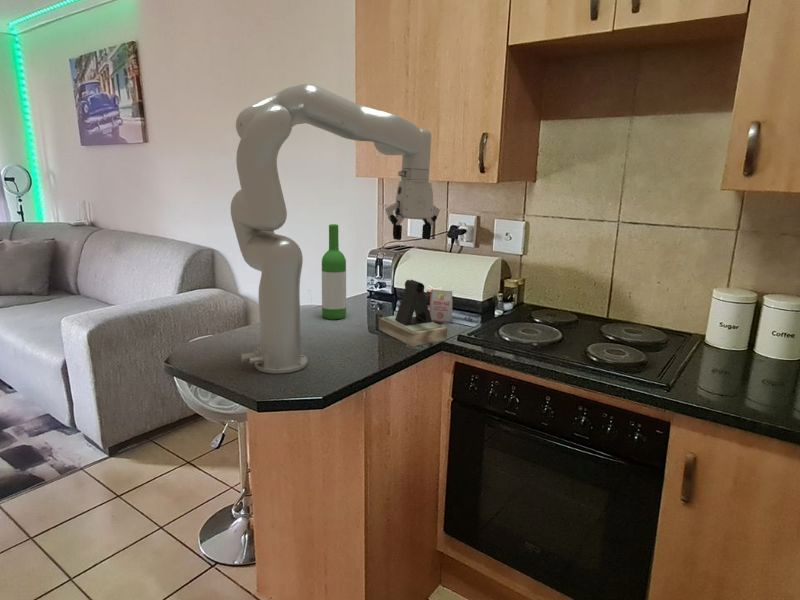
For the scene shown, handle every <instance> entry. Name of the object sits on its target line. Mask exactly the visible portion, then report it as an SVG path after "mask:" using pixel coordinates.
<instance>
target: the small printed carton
mask: <svg viewBox="0 0 800 600" xmlns="http://www.w3.org/2000/svg"><path fill="white" fill-rule="evenodd" d="M453 305H454V303H453V290H444V289H443V290H441V289H430V298H429V312H430V316H431V319H432V322H438V323H439V322H440V323H449V324H451V321H452V320H453Z"/></svg>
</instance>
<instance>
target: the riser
mask: <svg viewBox="0 0 800 600" xmlns="http://www.w3.org/2000/svg"><path fill="white" fill-rule="evenodd" d="M415 316H416V314H415V313H413V317H415ZM395 318H396V315H391V316H390V315H389V316H383V317H379V318H378V321H379V322H378V330H379V331H381V332H383V333H385V334H387V335H388V336H390V337H393V338H394V339H397V340H398V341H401V342H403V343H404V344H406V345H408V346H410V347H415V346H420V345H427V344H432V343H438V342H442V341H447V340H448V339H447V337H448V327H445V326H443V325H441V324H438V323H436V322H435V321H432V322H429V323H422V324H415V325H408V326H406V325H404V324H402V323H400V322H398V321H396V320H395Z"/></svg>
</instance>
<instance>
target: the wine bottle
mask: <svg viewBox="0 0 800 600" xmlns="http://www.w3.org/2000/svg"><path fill="white" fill-rule="evenodd" d="M339 247H340V246H339V224H328V250H327V251H326V252H325V253H324V254H323V256H322V259H321V314H322V317H323V318H324V319H326V320H327V319H328V320H340V319H344V318H345V317H346V316H347V260H346V256H345V255H344V253H343V252H342V251H340V250H339V249H340V248H339Z"/></svg>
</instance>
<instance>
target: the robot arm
mask: <svg viewBox="0 0 800 600" xmlns="http://www.w3.org/2000/svg"><path fill="white" fill-rule="evenodd" d="M303 124H307V125H311V126H313V127H315V128H318V129H321V130H323V131H326V132H328V133H331V134H334V135H335V136H338V137H340V138H344V139H345V140H346V139H347V140H351V141H356V142H371V143H373V145H374V148H375V149H376V150H377V152H379V153H380V154H382V155H385V156H402V157H401V158H402V159H401V161H402V162H401V170H399V171H398V172H397V175H398V177H400V179H401V180H399V181H398V184H397V189H396V190H397V191H396V195H395V202H394V203H392V204H391V205H389V206H387V207H386V208H385V212H386V215H387V218H388V219H389V221H390V223H391V225H392V236H393V240H397V241H402V234H403V233H402V231H403V225H402V224H401V223H402V222H403V221H404V219H409V220H411V219H413V220H420V219H421V220H422V221H423V223H424V224H423V225H422V230H421V231H422V232H421V233H422V234H421V236H422V239H423V240H427V241H428V240H429V241H430V240H431V236H432V226H434V223H435V221H437V220H438V216H439V214H440V212H441V209H439V208H438V207H437V206H436V205H434V194H433V184H432V182H430V170H431V169H430V168H431V167H430V166H431V152H432V151H431V150H432V149H431V148H432V147H431V146H432V133H431V131H430V130H428V129H425V128H419V127H418V126H417V125H416V124H415V123H413V122H411V121H409V120H407V119H405V118H402V117H401V116H399V115H396V114H393V113H389V112H387V111H384V110H379V109H375V108H373V107H369V106H366V105H362V104H358V103H355V102H353V101H351V100H349V99H347V98H344V97H343V96H341V95H338V94H336V93H334V92H332V91H330V90H327V89H325V88H323V87H321V86H318V85H316V84H313V83H303V84H298V85H294V86H293V85H292V86H288V87H287V88H284V89H282V90H280V91H278V92H276V93H274V94H273V95H270V96H268V97H266V98H264V99H262V100H260V101H258V102H256V103H254V104H252V105H249V106H248V107H245V108H244V109H242V110H241V111H240V113H238V116H237V117H236V121H235V128H236V132H237V136H238V137H239V138H240V140H239V142H238V146H237V150H236V158H235V159H236V161H235V162H236V170H237V176H238V179H239V185H240V190H238V191H237V192H236V193H235V194H234V195H233V197H232V199H231V202H230V216H231V221H232V225H233V228H234V232H235V235H236V240H237V243H238V246H239V251H240V253H241V256H242V258H243V260H244V262H245V263H246V264H247V265H248V266H249V267H251V268H252V269H254V270H256V271H258V272H261V276H260V280H259V286H258V313H259V314H258V315H259V316H258V317H259V334H260V335H259V338H260V346H256V350H253V352H250V353H248V352H247V353H241V354H240V361H241V363H244V362H249V364H250V365H251V364H254V368H255V369H257V370H258V371H259V372H262V373H266V374H267V373H268V374H275V375H276V374H289V373H294V372H297V371H300V370H302V369H304V368H305V367H307V366H308V357H307V356H306V355H304V354H302V343H301V342H302V340H301V339H302V337H301V303H300V302H301V300H300V299H301V297H300V292H301V291H300V289H301V288H300V286H301V275H302V270H303V261H304V259H303V258H304V257H303V252H302V250H301V247H300V246H299V245H298V243H297V242H296V241H295V240H293V239H292V238H290V237H289V236H286V235H285V236H284V235H281V234H277V233H275V231H276V230H279V229H281V228H282V227H283V225H284V224H285V223H286V220H287V217H288V212H287V211H288V209H287V206H286V203H285V199H284V194H283V193H284V192H283V189H282V185H281V180H280V176H279V170H278V156H279V152H280V150H281V147H282V145H283V144H284V143H285V142H286V140H287V139H288V138H289V136H290V135H291V132H292V130H293V127H295V126H296V125H303ZM394 214H395V215H394Z"/></svg>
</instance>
